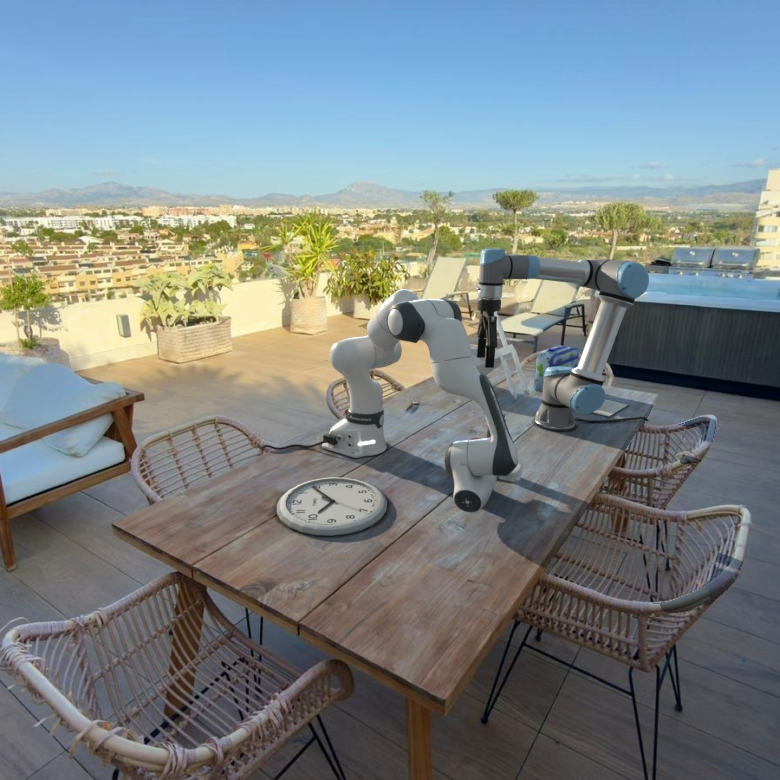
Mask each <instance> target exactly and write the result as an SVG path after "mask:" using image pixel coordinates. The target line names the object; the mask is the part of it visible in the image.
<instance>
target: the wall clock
mask: <svg viewBox="0 0 780 780" xmlns="http://www.w3.org/2000/svg"><path fill="white" fill-rule="evenodd" d="M387 509H388V500H387V498H386V496H385V494H384V493H383V492H382V491H381V490H380V489H379V488H377V487H376V486H374V485H372V484H371V483H369V482H365V481H362V480H359V479H355V478H349V477H338V476H337V477H335V476H333V477H332V476H331V477H322V478H317V479H312V480H307V481H305V482H302V483H299V484H297V485H295V486H293V487H292V488H290V489H288V490H287V491H286V492H285V493H284V494H283V495H281V496H280V498H279V499H278V502H277V503H276V515H277V517H278V518H279V520H280V521H281V522H282V523H283V524H285V525H286V526H287V527H288V528H290V529H293V530H295V531H297V532H299V533H303V534H308V535H312V536H327V537H328V536H329V537H331V536H332V537H333V536H342V535H350V534H352V533H356V532H361V531H363V530H366V529H368V528H369V527H372V526H373V525H375V524H376V523H378V522H379V521H380V520H381V519H382V518H383V517H384V516H385V514H386V512H387Z"/></svg>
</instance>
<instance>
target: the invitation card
mask: <svg viewBox="0 0 780 780" xmlns="http://www.w3.org/2000/svg"><path fill="white" fill-rule="evenodd" d="M628 406H629V404H627V403H623V402H618V401H614V400H609V399H606V398H605V400H604V403H603V404H602V406H601V407H600V408H599V409H598V410H596V411H594V412H593V413H592V414H596V415H600V416H604V417H608V418H609V417H611V416H613V415H614V414H616V413H617V412H619V411H621V410H623V409H624V408H626V407H628Z"/></svg>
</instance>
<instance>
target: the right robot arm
mask: <svg viewBox="0 0 780 780" xmlns="http://www.w3.org/2000/svg"><path fill="white" fill-rule="evenodd" d="M504 280H541V281H542V280H543V281H550V282H551V281H552V282H559V283H567V284H568V283H570V284H574V286H576V287H582V288H586V289H591V290H594V291H597V292H599V293H598V298H599V300H600V304H599V307H598V309H597V312H596V315H595V316H594V317H595V318H594V320H593V323H592V324H591V325H592V326H591V328H590V330H589V334H588V336H587V339H586V342H585V345H584V348H583V350H582V353H581V355H580V358H579V360H578V367H576V368H573V367H562V366H557V367H549V368H547V369H546V370H545V373H544V382H543V392H541V393H542V394H541V402H540V405H539V407H538V410H537V411H536V413H535V417H534V424H535V425H536V426H537V427H539V428H542V429H544V430H549V431H556V432H567V431H572V430H574V429H575V428H576V422H583V423H596V424H597V423H598V424H601V423H616V422H624V421H636V420H644V421H646V422H650V421H649V419H648V418H647V417H645V416H635V417H625V418H616V419H600V420H598V419H597V420H596V419H595V420H593V419H582V418H575V417H576V416H575V413H574V412H577V413H579V414H581V415H590V414H594V413H593V412H594V411H596V410H598V409H599V408H600V407H601V406H602V404H603V403H604V400H605V399H606V392H605V389H604V388H603V385H604V382H605V378H604V376H603V372H604V369H605V368H606V364H607V363H608V362H607V361H608V359H609V356H610V353H611V351H612V348H613V345H614V343H615V341H616V338H617V335H618V333H619V330H620V327H621V324H622V322H623V319H624V317H625V313H626V311H627V309H628V308H630V307H632V306H634V304H635V301H636V299H637V298H640V297H641V296H642V295H644V294H645V293H646V291H647V290H648V288H649V285H650V276H649V273H648V270H647V269H646V267H645V266H644V265H643V264H642V263H640V262H636V261H633V260H623V259H622V260H620V259H612V258H608V259H607V258H604V259H585V258H583V259H579V260H577V261H576V260H567V259H558V258H550V257H541V256H537V255H530V254H515V253H506V250H505V249H504V248H483V249H482V250H481V252H480V260H479V279H478V287H476V291H477V296H478V299H477V304H476V306H477V307H476V309H477V310H478V311H479V312H480V313H479V319H478V326H477V331H476V335H477V346H478V347H477V358H485V350H486V359H485V368H494V358H495V350H496V348H498V328H497V316H494V312H496V313H498V312H501V308H502V299H501V298H502V297H503V289H504V288H503V287H504ZM486 344H487V345H486Z"/></svg>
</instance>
